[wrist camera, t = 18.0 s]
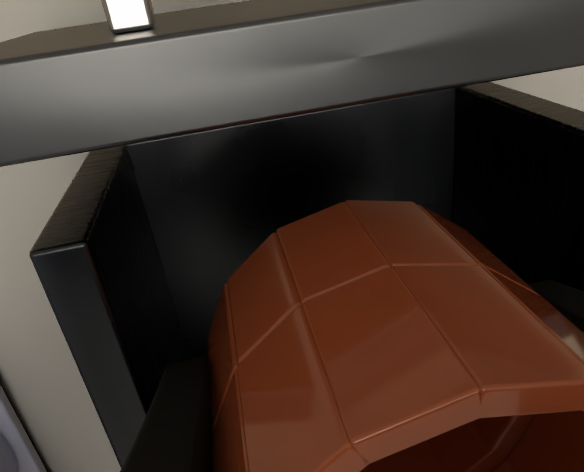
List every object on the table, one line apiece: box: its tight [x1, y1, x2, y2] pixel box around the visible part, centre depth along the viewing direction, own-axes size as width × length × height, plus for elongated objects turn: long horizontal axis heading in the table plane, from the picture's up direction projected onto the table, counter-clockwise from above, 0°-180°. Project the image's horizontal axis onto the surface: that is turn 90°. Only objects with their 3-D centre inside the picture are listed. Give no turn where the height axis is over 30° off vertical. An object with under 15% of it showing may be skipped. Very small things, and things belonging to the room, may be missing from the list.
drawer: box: [0, 0, 584, 469], centre depth 11 cm, size 18×11×6 cm, turn 7°
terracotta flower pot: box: [207, 200, 584, 472], centre depth 8 cm, size 6×6×5 cm
